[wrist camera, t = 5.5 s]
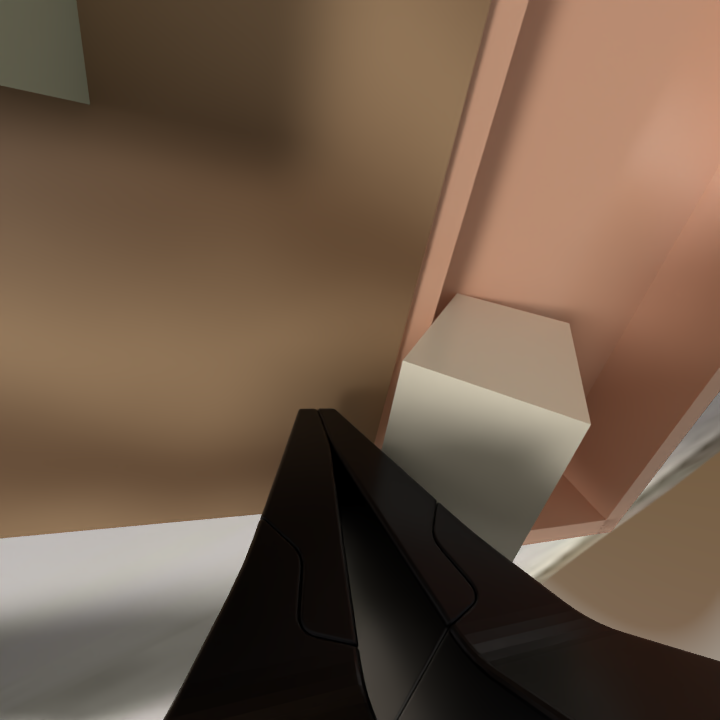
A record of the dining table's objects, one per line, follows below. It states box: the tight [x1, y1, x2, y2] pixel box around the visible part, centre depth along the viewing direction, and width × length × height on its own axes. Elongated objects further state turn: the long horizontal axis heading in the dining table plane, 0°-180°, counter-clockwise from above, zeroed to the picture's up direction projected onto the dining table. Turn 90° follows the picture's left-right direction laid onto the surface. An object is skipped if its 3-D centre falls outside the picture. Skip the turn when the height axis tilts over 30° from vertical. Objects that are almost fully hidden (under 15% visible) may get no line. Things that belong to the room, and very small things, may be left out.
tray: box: [374, 0, 720, 545], centre depth 10 cm, size 18×10×4 cm, turn 169°
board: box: [0, 0, 491, 538], centre depth 7 cm, size 16×12×2 cm
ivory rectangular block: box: [381, 293, 591, 562], centre depth 9 cm, size 5×5×3 cm
